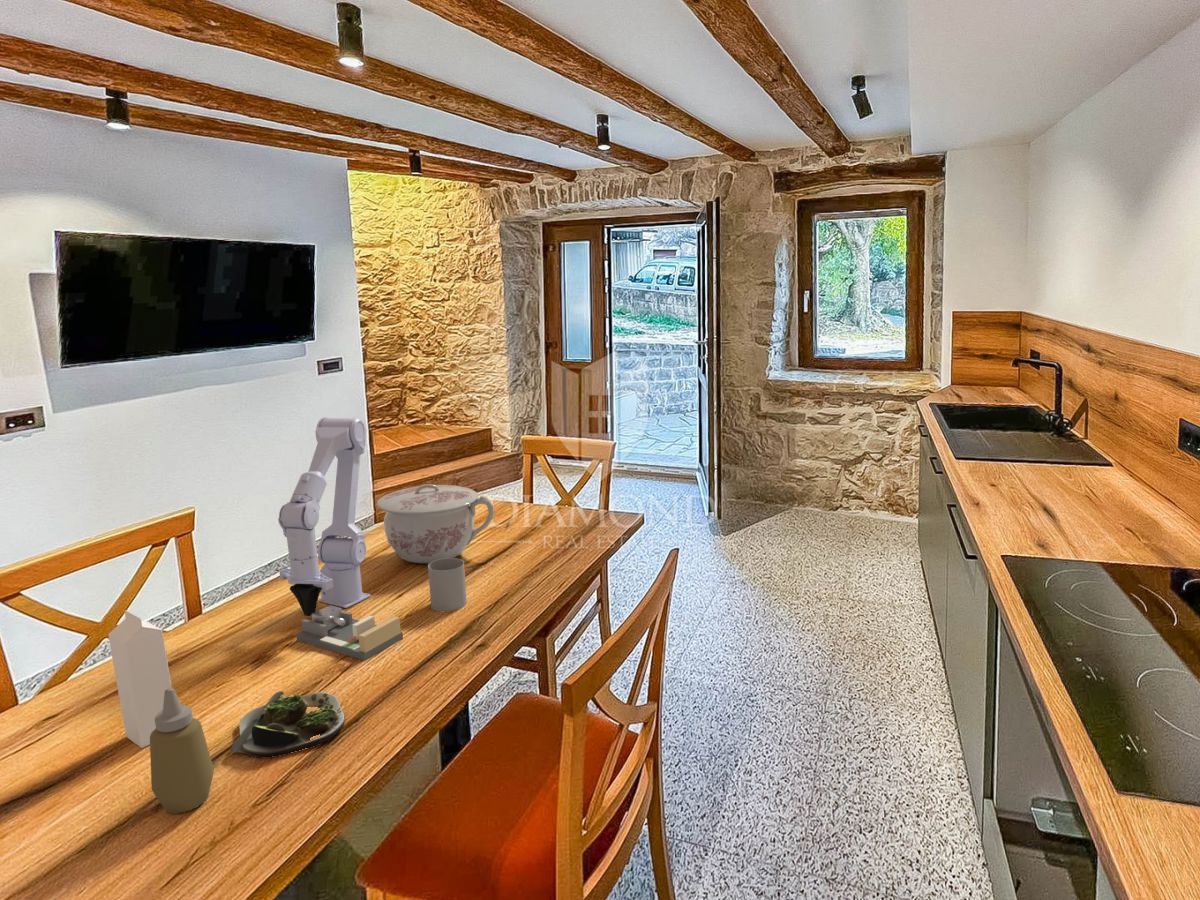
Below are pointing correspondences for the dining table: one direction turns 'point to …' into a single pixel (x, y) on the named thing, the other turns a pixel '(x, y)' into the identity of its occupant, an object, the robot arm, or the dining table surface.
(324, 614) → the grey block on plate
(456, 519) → the chamber pot
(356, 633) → the cream thin slab
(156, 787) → the squeeze bottle
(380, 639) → the gauge base
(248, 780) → the dining table surface
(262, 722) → the salad plate
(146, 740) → the milk
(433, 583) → the cup
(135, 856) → the dining table surface
